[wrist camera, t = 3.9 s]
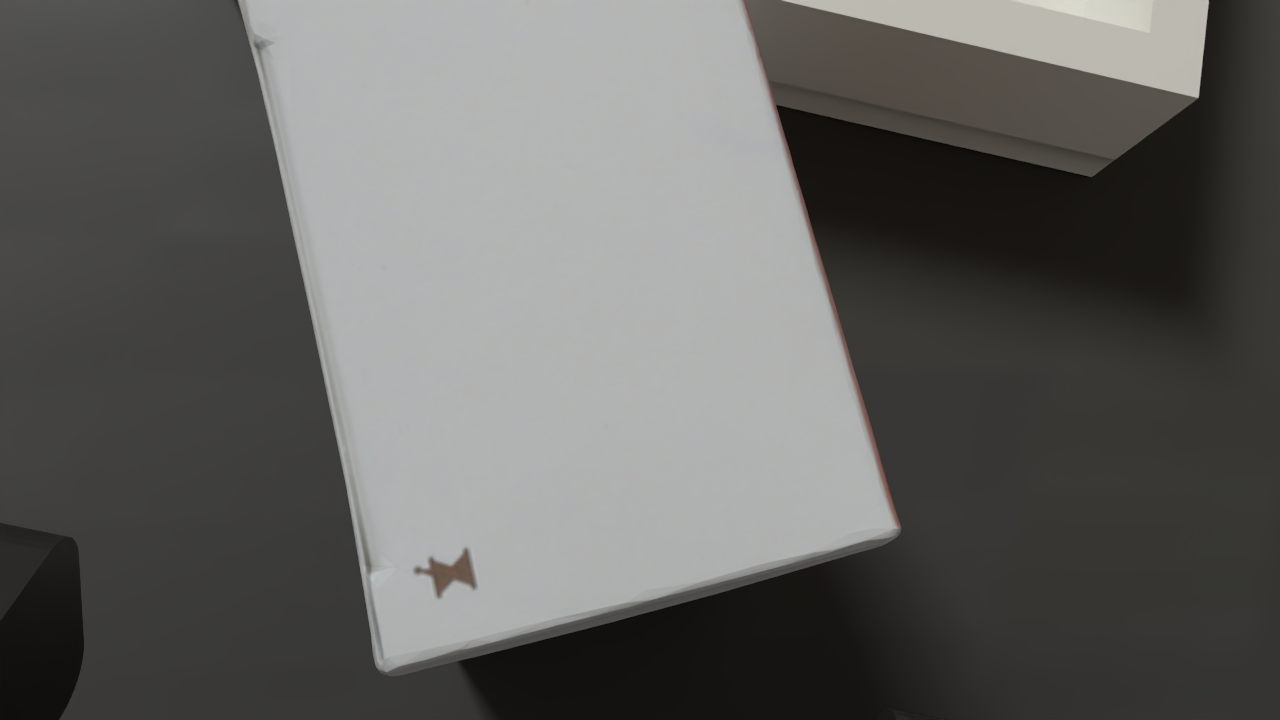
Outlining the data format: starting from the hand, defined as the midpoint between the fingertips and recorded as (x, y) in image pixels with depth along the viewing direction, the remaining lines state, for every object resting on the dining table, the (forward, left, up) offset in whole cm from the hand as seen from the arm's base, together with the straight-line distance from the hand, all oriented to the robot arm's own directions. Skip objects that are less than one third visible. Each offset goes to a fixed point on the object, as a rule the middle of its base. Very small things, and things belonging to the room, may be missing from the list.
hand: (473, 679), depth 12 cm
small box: (0, +4, -10) cm, 11 cm away
